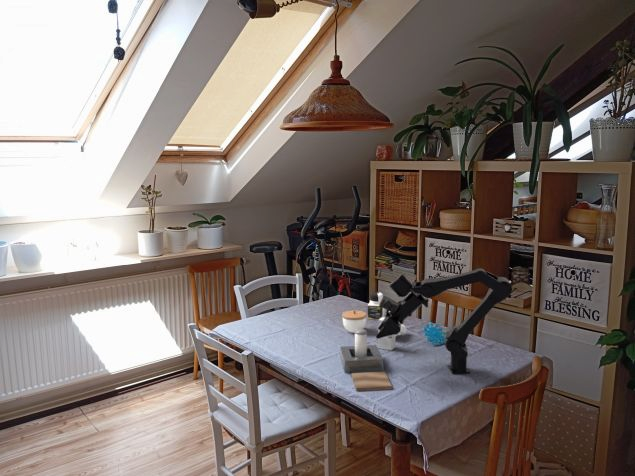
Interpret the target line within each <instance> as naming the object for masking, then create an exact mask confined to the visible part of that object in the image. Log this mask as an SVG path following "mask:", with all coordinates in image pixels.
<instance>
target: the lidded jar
mask: <svg viewBox="0 0 635 476" xmlns="http://www.w3.org/2000/svg"><path fill="white" fill-rule="evenodd" d="M341 316H342V324H343V327H344V328H345V330H346V331H347V332H348V333H351V334H355V330H357V329H364V328H365V327H366V324H367V318H368V313H366V312H365V311H363V310H356V309H354V310H346V311H344V312H342V315H341Z"/></svg>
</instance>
